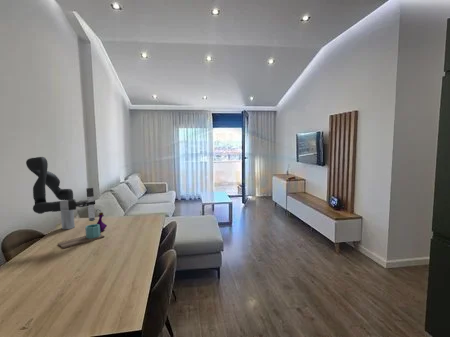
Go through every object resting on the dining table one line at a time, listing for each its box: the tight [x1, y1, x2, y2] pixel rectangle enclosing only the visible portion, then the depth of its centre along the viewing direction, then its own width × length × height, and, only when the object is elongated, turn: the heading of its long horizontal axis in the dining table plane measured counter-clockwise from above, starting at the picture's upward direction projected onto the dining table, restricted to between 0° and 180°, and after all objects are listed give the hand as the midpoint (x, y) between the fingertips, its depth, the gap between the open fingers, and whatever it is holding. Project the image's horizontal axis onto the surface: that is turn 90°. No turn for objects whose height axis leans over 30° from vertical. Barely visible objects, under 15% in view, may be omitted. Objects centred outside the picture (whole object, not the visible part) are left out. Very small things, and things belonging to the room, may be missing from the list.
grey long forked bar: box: [86, 187, 96, 222], centre depth 190 cm, size 4×4×24 cm
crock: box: [84, 223, 101, 239], centre depth 192 cm, size 9×9×8 cm
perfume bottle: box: [95, 208, 108, 233], centre depth 207 cm, size 8×8×18 cm
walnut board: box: [57, 233, 105, 250], centre depth 186 cm, size 12×27×1 cm, turn 138°
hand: (95, 202), depth 191 cm, fingers closed on grey long forked bar, 3 cm apart
